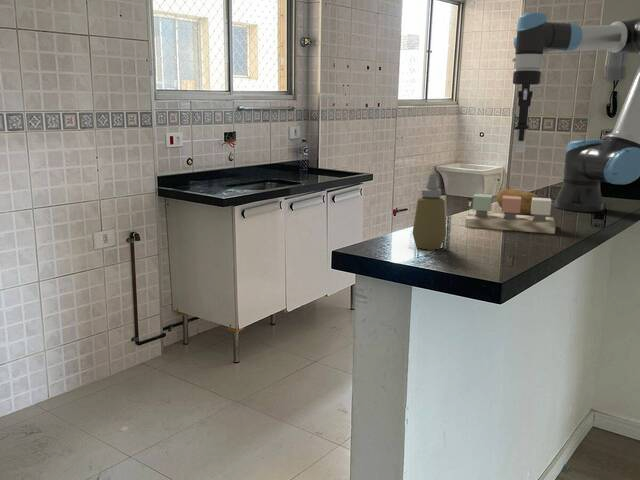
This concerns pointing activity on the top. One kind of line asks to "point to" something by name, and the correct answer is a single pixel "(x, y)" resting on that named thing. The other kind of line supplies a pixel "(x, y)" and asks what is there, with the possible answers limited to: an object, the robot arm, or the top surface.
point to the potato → (525, 196)
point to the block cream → (540, 208)
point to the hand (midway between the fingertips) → (519, 151)
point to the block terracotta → (511, 206)
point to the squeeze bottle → (430, 217)
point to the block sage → (482, 204)
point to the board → (510, 223)
